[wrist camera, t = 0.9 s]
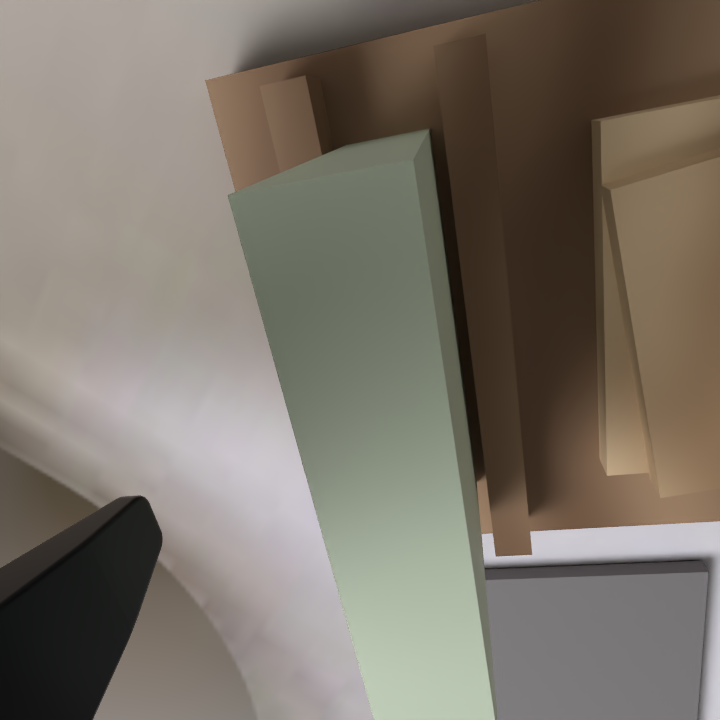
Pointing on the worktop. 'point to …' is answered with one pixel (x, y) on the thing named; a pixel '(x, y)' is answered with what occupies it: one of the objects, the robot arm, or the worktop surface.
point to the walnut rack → (505, 215)
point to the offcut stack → (659, 293)
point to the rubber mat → (598, 640)
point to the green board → (379, 413)
